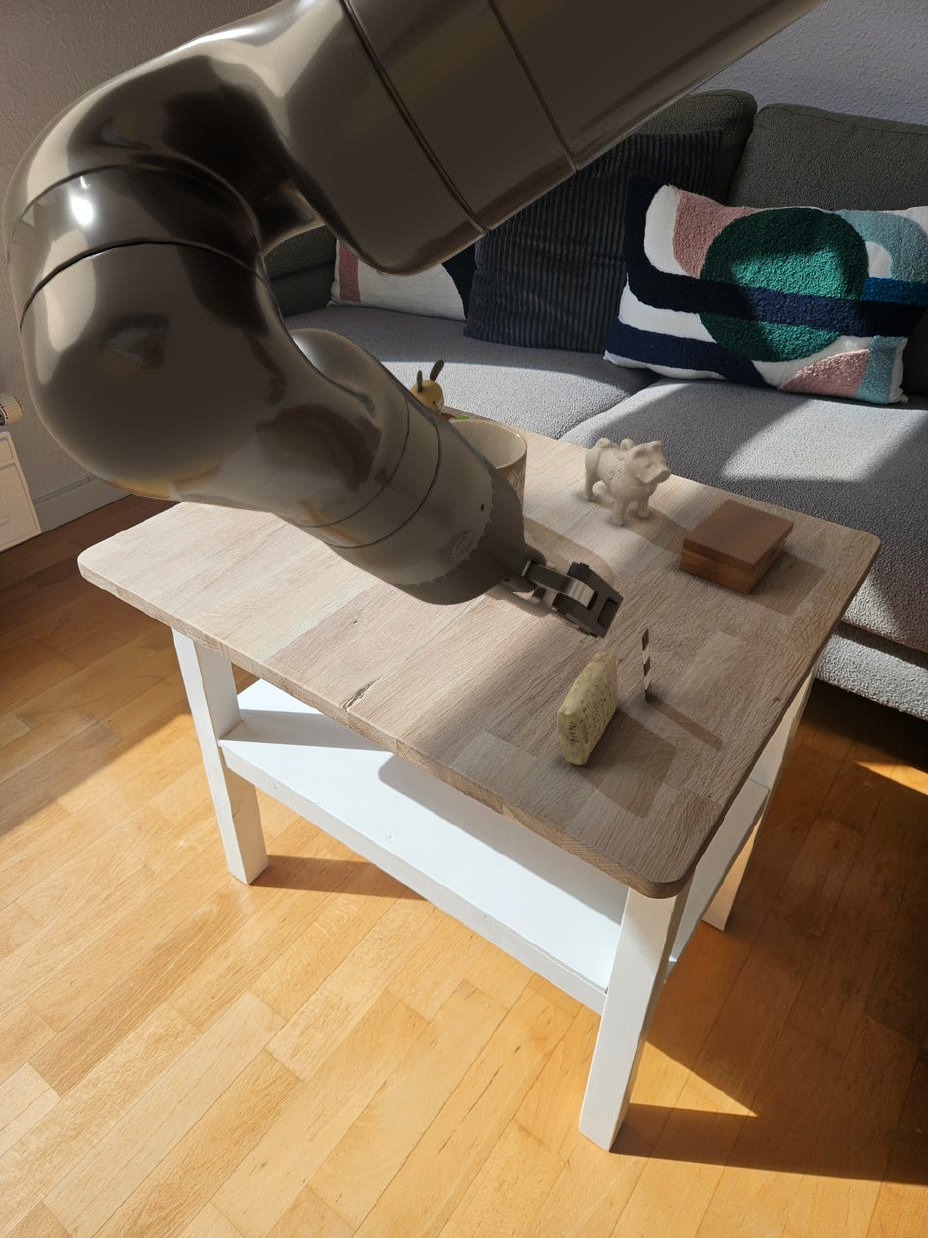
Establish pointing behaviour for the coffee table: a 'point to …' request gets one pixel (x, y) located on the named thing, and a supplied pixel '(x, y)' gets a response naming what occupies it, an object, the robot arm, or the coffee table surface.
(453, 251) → the robot arm
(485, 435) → the planter
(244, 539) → the coffee table surface
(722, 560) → the slab pile
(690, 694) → the coffee table surface
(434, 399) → the bunny pull toy
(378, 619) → the coffee table surface
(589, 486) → the dog figurine
